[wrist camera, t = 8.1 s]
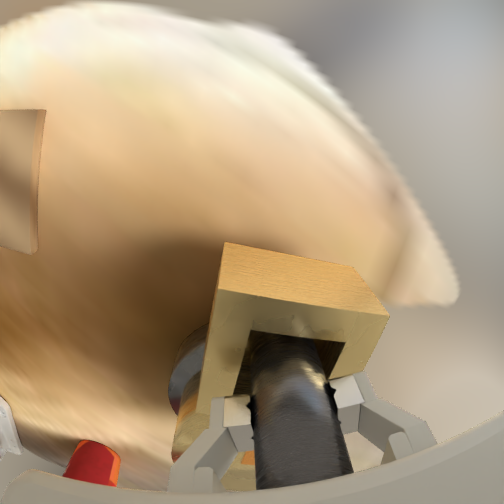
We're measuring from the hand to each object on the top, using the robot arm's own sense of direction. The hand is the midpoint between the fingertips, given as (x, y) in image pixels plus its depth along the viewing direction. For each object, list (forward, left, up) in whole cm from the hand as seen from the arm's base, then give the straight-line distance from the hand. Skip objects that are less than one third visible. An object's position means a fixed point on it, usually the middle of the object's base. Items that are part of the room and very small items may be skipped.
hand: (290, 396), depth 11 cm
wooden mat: (+4, +22, -10) cm, 24 cm away
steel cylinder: (0, 0, -5) cm, 5 cm away
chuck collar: (-5, 0, -7) cm, 8 cm away
